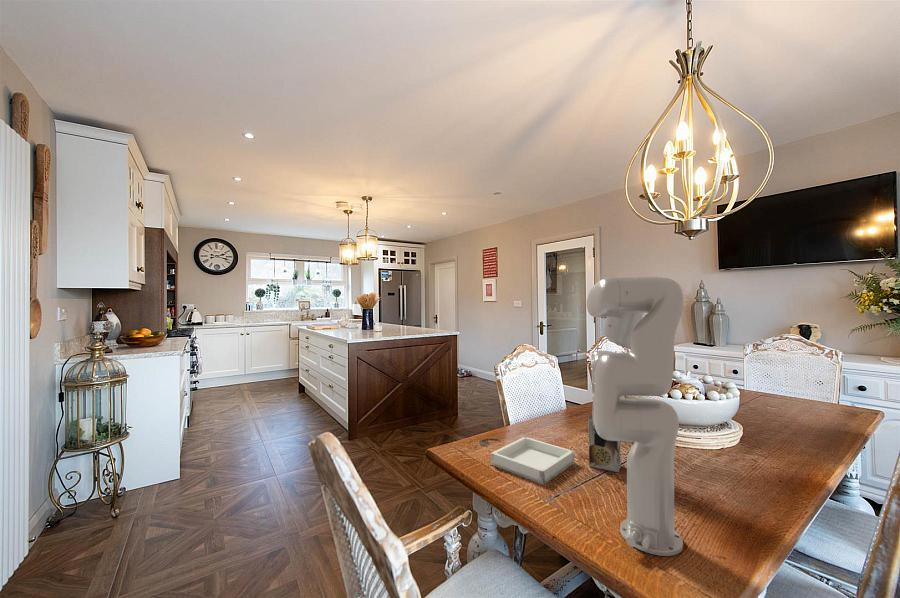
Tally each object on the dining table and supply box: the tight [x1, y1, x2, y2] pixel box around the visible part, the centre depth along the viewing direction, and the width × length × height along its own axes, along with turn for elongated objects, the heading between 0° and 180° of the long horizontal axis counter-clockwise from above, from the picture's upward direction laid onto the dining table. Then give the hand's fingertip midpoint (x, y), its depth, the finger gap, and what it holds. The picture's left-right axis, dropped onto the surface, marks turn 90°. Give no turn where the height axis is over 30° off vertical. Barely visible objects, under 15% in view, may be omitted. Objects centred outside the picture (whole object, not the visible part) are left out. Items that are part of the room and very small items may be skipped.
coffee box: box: [587, 413, 622, 473], centre depth 121 cm, size 9×6×16 cm
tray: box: [490, 436, 575, 486], centre depth 123 cm, size 20×19×4 cm
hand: (604, 442), depth 121 cm, fingers closed on coffee box, 7 cm apart
